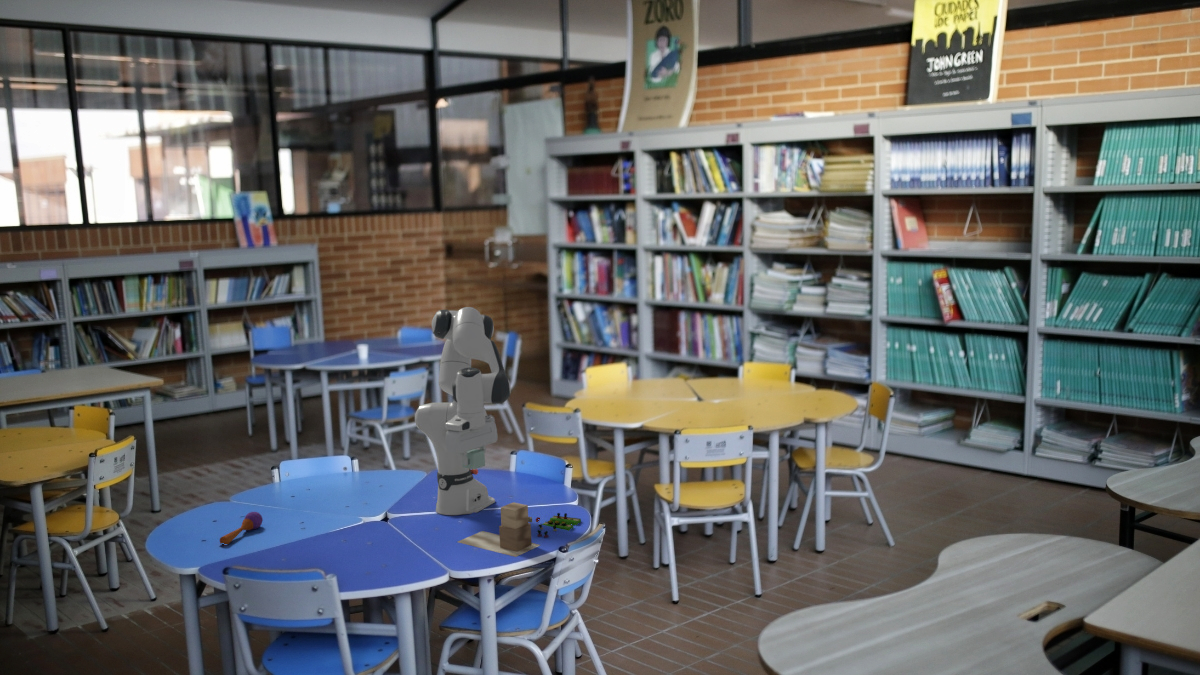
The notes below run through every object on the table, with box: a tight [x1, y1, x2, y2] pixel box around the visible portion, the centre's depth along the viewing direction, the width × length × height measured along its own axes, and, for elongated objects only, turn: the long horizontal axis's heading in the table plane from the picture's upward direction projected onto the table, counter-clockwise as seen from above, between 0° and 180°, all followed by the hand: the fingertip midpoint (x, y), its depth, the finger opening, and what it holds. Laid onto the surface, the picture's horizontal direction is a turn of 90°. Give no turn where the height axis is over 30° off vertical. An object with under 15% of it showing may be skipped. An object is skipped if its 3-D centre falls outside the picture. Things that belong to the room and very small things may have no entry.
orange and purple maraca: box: [219, 511, 263, 545], centre depth 330 cm, size 6×6×20 cm
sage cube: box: [462, 448, 486, 470], centre depth 310 cm, size 5×5×5 cm
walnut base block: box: [498, 522, 533, 552], centre depth 306 cm, size 7×7×7 cm
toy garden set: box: [528, 512, 582, 539], centre depth 326 cm, size 23×19×5 cm
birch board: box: [457, 530, 541, 558], centre depth 310 cm, size 12×25×2 cm, turn 54°
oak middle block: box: [500, 502, 530, 529], centre depth 305 cm, size 6×6×6 cm
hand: (473, 462), depth 310 cm, fingers closed on sage cube, 5 cm apart
